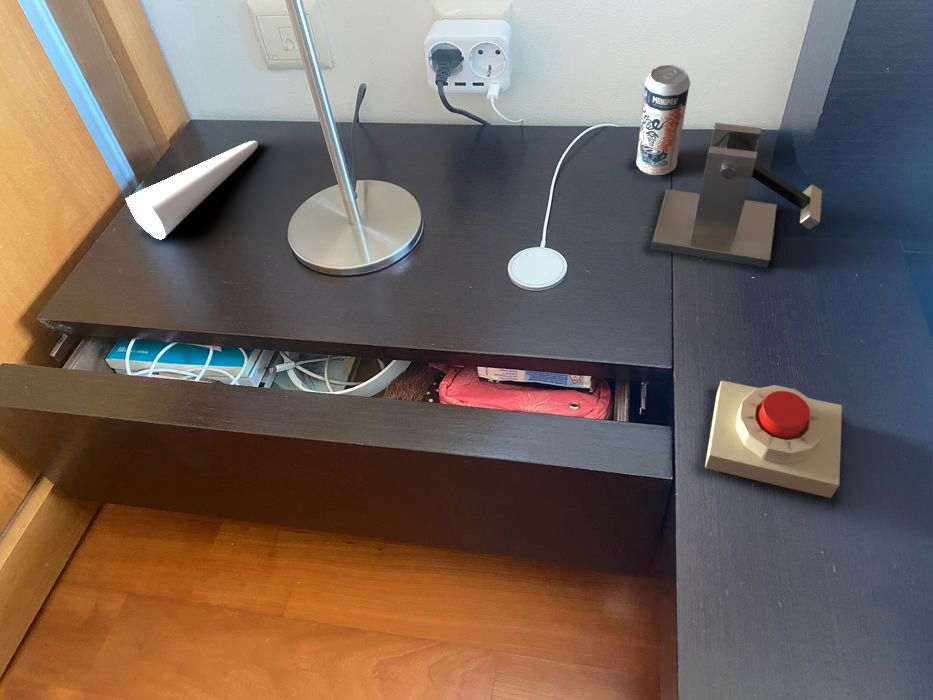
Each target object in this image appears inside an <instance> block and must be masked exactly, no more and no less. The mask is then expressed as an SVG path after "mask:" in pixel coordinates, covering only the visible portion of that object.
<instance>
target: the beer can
mask: <svg viewBox="0 0 933 700" xmlns="http://www.w3.org/2000/svg"><path fill="white" fill-rule="evenodd" d="M690 87H691V80H690V78H689V75H688V72H687V71H686V70H685V69H684V68H683V67H681V66H677V65H673V64H667V65H666V64H664V65H659V66H657V67H655V68H653V69H652V70H651V71H650V73H649V74H648V76H647V78H646V79H645V82H644V93H643V102H642V109H641V110H642V111H641V119H640V127H639V136H638V146H637V153H636V161H635V162H636V163H635V164H636V166H637V167H638V169H639V170H640V171H642V172H643V173H644V174H647V175H651V176H660V175H661V176H662V175H663V176H664V175H667V174H669V173H671V172H672V171H674V170H675V169H676V167H677V165H678V156H679V150H680V146H681V145H680V144H681V140H682V139H681V138H682V133H683V132H682V131H683V125H684V121H685V114H686V108H687V102H688V98H689V97H688V96H689V90H690Z"/></svg>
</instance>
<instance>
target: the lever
mask: <svg viewBox="0 0 933 700" xmlns="http://www.w3.org/2000/svg"><path fill="white" fill-rule="evenodd" d="M717 147H720V148H728V149H737V150H745V151H752V147H750V146H748V145H747V144H745V143H744V142H742V141H741V140H739V139H738V138H736V137H735V136H733V135H732V134H729V135H728V136H727V137H726V138H725V139H724V140H723V141H722V142H721V143H720V144H719V145H718V146H717ZM751 178H753V179H754V180H756V181H757V182H758V183H760V184H762V185H763V186H765V187H767V188H768V189H770V190H771V191H773V192H774V193H776V194H777V195H779V196H781V197H782V198H783V199H785V200H787V201H788V202H790V203H791V204H792V205H795V206H796V207H798V208H799V209H800V216H799V217H800V218H799V225H802V226H803V227H805V228H806V229H808V230H812V229H813V228H815V227H816V226H817V225H818V224H820V222H821V212H822V201H823V200H822V199H823V198H822V197H823V190H822V189H820V188H819V187H817V186H816V185H814V184H811V185H810V186H808V187H807V188H806V189H804V190H803V191H801V190H800V189H799V188H796V187H795V186H793V185H792V184H790V183H789V182H788V181H785V180H784V179H783V178H781V177H780V176H778V175H777V174H775V173H774V172H772V171H770V170H769V169H768V168H766V167H764V166H763V165H761V164H760V163H758V162H757V161H756V162H755V166H754V169H753V173H752V177H751Z"/></svg>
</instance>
